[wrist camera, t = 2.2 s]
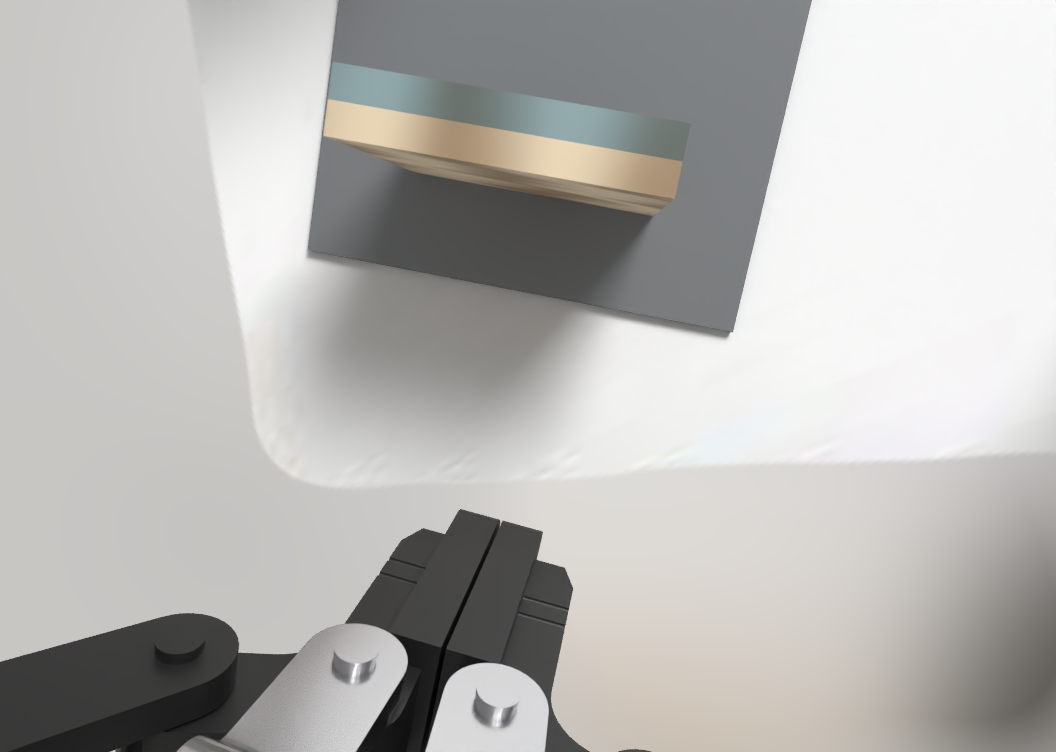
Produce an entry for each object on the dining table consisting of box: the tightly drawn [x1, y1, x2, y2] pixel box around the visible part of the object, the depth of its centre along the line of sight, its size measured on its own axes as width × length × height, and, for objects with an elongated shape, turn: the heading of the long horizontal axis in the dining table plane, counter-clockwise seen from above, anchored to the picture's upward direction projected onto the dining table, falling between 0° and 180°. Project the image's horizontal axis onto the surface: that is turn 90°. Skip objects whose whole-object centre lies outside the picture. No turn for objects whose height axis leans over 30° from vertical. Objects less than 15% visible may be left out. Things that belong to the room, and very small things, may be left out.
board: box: [323, 62, 691, 216], centre depth 30 cm, size 12×2×12 cm, turn 80°
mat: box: [308, 0, 812, 332], centre depth 35 cm, size 22×20×1 cm
